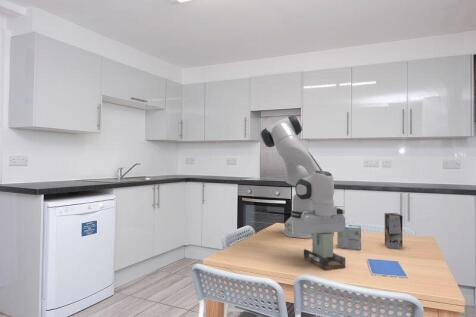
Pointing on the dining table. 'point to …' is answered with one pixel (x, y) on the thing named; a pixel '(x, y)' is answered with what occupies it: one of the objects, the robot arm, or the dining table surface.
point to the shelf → (325, 260)
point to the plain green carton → (323, 245)
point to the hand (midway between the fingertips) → (322, 243)
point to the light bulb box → (350, 237)
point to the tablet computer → (386, 268)
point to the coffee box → (393, 230)
